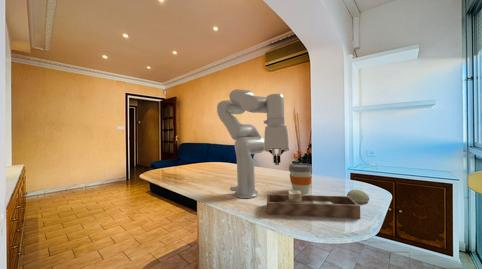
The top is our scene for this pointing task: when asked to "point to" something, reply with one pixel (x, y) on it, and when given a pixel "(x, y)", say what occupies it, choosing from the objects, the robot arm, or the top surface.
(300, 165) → the reusable coffee cup
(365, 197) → the sea urchin shell
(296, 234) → the top surface
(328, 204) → the tray
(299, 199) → the maple block
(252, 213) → the top surface
